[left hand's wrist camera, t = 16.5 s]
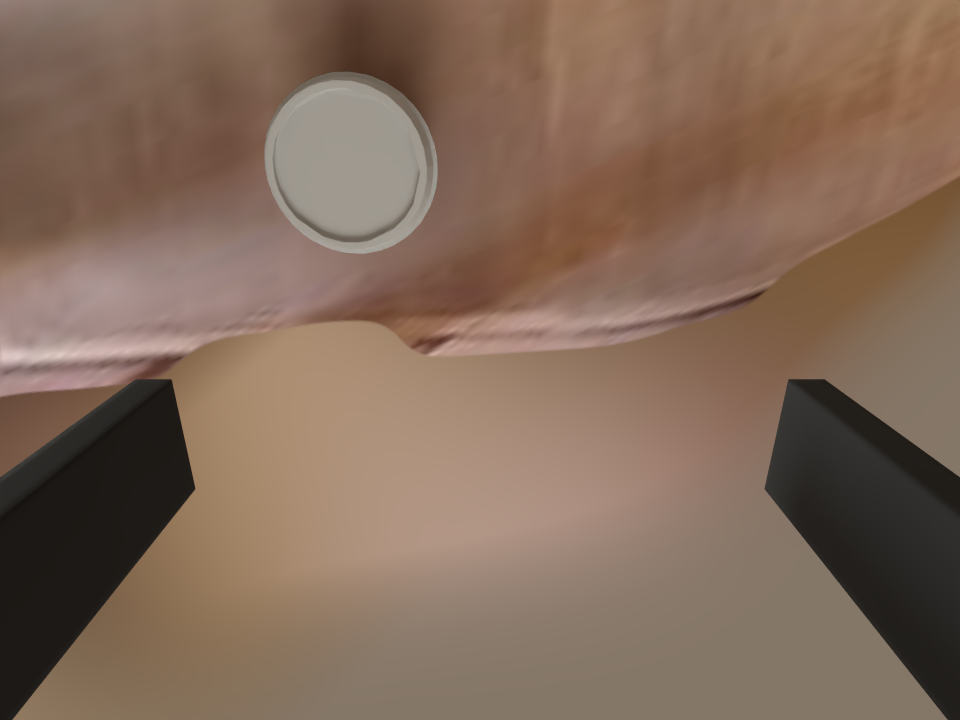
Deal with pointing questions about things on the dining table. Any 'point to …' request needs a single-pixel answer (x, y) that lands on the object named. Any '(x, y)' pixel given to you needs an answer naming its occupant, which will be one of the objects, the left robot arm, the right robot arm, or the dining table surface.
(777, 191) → the dining table surface
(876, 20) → the dining table surface
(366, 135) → the disposable coffee cup
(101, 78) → the dining table surface
